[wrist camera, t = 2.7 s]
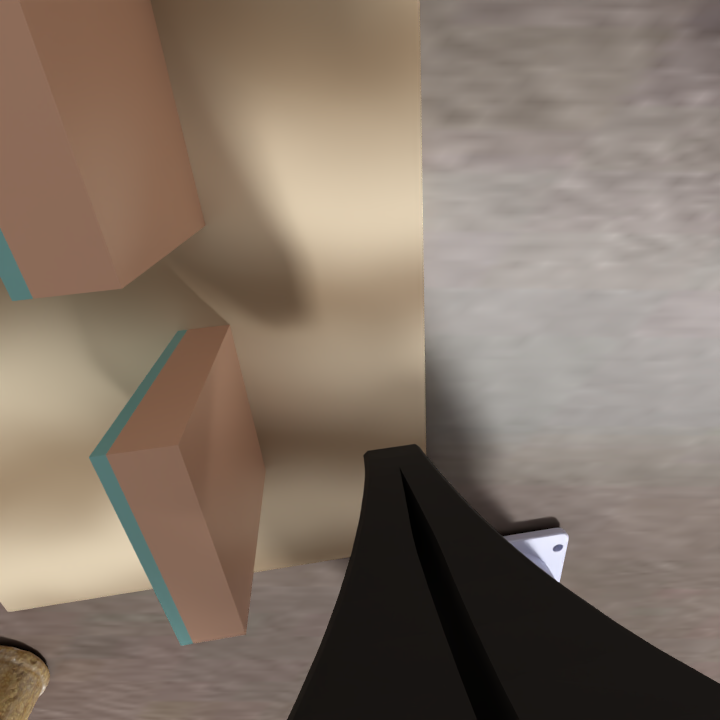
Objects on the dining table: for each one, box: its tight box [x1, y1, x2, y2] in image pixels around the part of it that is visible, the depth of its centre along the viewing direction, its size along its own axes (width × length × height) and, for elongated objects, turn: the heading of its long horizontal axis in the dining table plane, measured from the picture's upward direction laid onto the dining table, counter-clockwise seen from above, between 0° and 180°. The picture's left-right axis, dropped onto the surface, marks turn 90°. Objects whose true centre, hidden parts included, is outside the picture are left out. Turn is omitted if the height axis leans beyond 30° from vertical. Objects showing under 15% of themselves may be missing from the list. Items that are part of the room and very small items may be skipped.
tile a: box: [89, 325, 266, 645], centre depth 12 cm, size 6×2×6 cm, turn 5°
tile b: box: [0, 0, 206, 301], centre depth 8 cm, size 6×2×6 cm, turn 5°
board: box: [0, 0, 426, 612], centre depth 13 cm, size 26×18×1 cm
